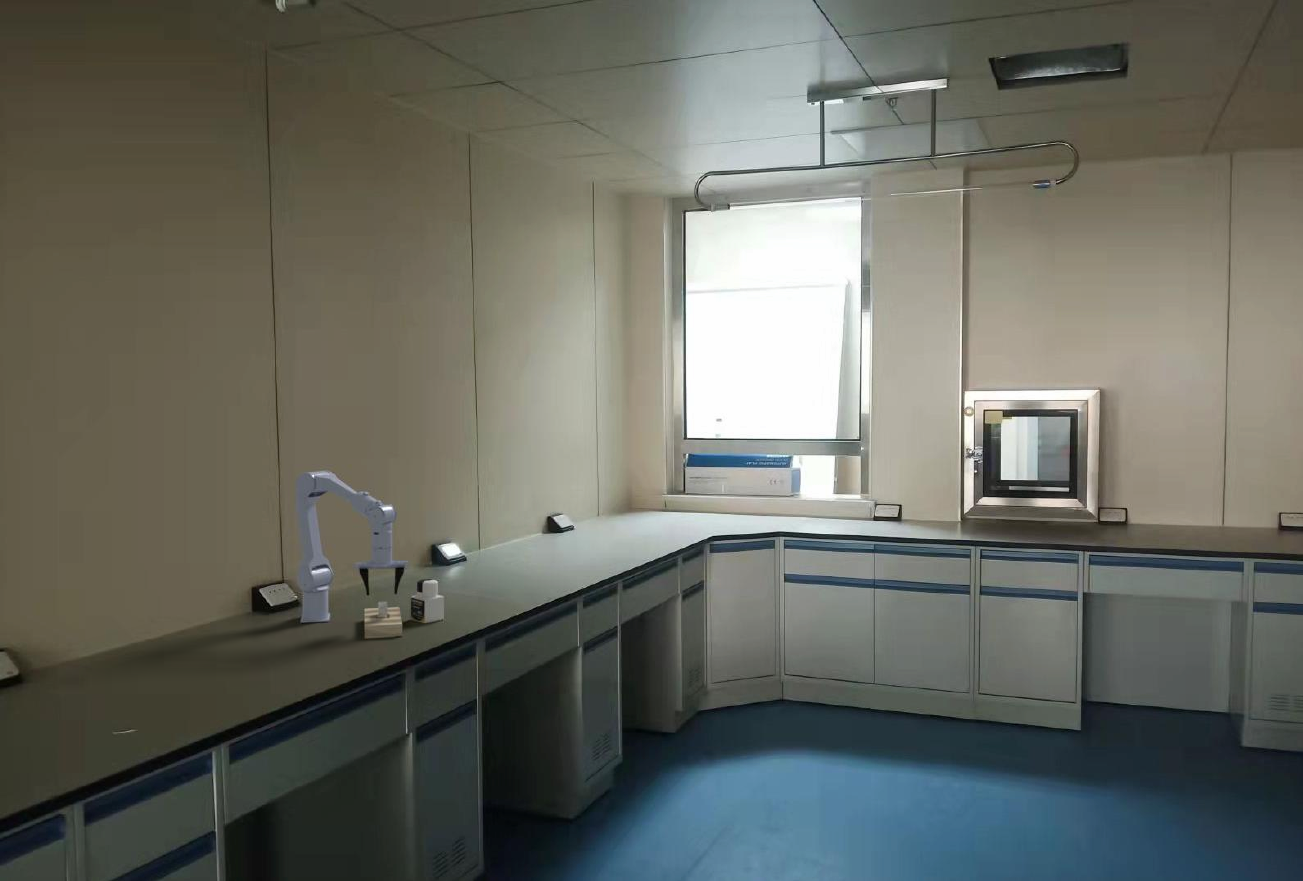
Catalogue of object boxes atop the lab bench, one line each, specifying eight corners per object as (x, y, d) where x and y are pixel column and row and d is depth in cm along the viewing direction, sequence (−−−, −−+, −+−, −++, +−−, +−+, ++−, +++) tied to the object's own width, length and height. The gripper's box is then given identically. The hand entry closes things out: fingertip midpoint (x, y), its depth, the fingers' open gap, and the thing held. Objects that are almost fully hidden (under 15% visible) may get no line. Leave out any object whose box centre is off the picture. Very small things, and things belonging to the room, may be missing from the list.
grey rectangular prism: (378, 625, 291) (378, 601, 291) (386, 625, 292) (386, 601, 292) (378, 631, 285) (378, 606, 284) (387, 630, 285) (387, 606, 285)
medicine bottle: (410, 619, 299) (410, 579, 299) (430, 615, 305) (430, 576, 304) (424, 623, 295) (424, 583, 294) (444, 619, 300) (444, 580, 299)
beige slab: (364, 620, 298) (364, 608, 297) (399, 618, 300) (399, 607, 300) (364, 638, 276) (364, 625, 276) (402, 636, 279) (402, 623, 279)
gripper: (355, 549, 281) (355, 597, 282) (408, 548, 285) (408, 595, 286) (355, 546, 288) (355, 592, 289) (407, 544, 292) (407, 590, 293)
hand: (381, 594), depth 288 cm, fingers open, 7 cm apart
